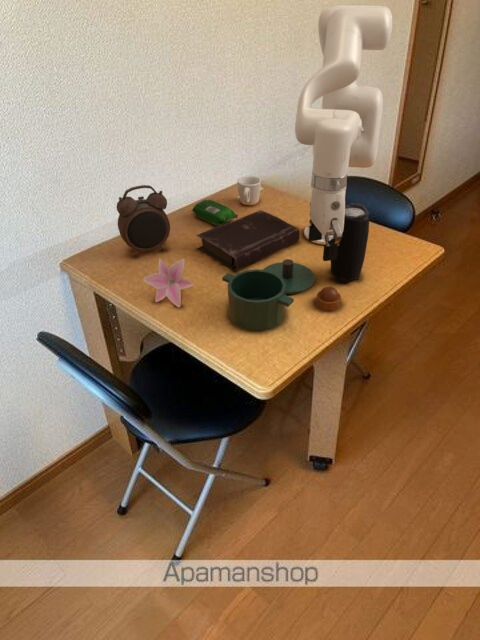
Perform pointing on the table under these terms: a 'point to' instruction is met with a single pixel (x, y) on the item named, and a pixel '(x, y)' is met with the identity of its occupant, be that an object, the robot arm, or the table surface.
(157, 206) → the alarm clock
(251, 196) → the cup
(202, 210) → the snack package
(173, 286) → the lily
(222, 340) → the table surface
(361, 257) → the portable speaker
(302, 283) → the pot lid
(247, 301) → the pot
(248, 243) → the diary
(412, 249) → the table surface
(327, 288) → the brown domed piece
